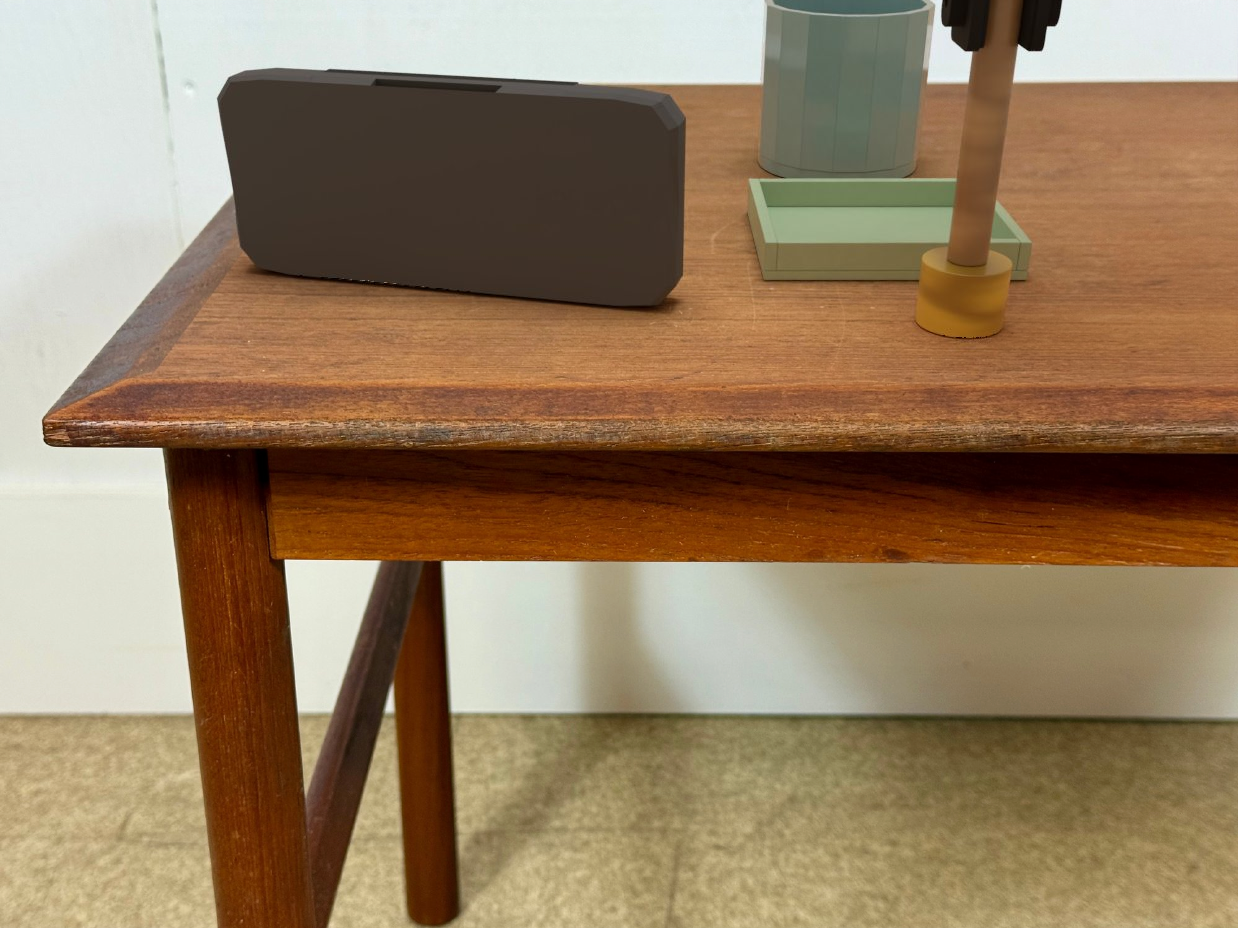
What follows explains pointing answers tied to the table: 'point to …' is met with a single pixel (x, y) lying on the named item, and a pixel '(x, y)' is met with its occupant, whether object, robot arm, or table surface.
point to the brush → (976, 197)
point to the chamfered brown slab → (459, 182)
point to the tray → (862, 227)
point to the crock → (843, 87)
